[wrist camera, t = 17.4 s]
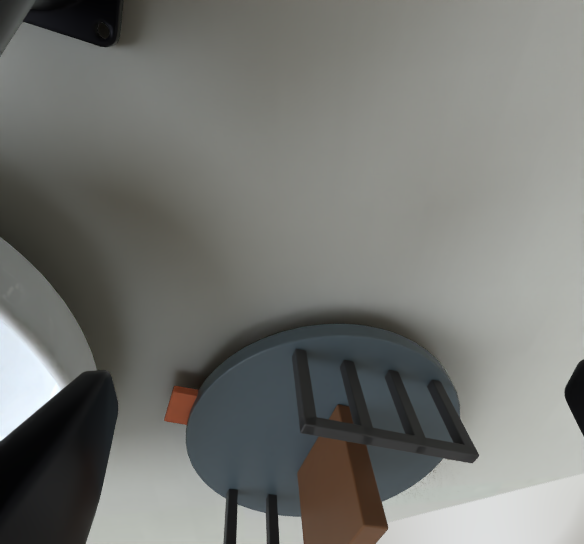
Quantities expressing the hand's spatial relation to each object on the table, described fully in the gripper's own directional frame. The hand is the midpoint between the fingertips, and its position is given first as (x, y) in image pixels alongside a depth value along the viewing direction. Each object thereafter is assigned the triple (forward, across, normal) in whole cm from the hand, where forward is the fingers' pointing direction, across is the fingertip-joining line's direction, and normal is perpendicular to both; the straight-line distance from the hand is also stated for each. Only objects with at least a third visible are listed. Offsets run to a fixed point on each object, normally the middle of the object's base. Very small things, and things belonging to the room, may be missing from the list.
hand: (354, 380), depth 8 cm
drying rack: (+11, -2, +15) cm, 18 cm away
